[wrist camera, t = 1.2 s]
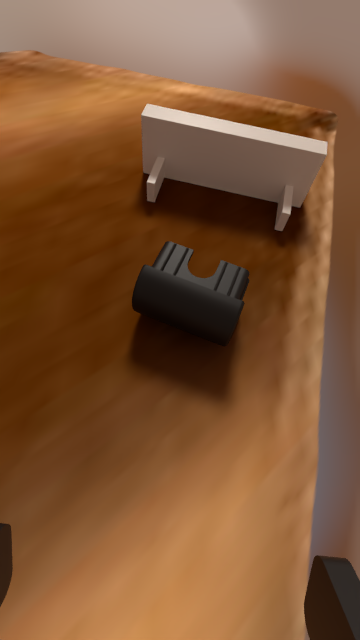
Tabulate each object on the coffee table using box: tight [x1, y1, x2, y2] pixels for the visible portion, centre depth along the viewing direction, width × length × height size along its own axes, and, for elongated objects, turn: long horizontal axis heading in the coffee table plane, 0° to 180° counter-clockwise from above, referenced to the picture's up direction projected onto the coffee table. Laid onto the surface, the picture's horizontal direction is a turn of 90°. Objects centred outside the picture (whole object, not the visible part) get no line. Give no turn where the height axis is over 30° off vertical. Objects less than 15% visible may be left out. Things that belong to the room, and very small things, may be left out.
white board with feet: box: [141, 104, 327, 231], centre depth 42 cm, size 22×7×8 cm, turn 77°
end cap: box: [132, 242, 249, 346], centre depth 34 cm, size 10×7×7 cm
